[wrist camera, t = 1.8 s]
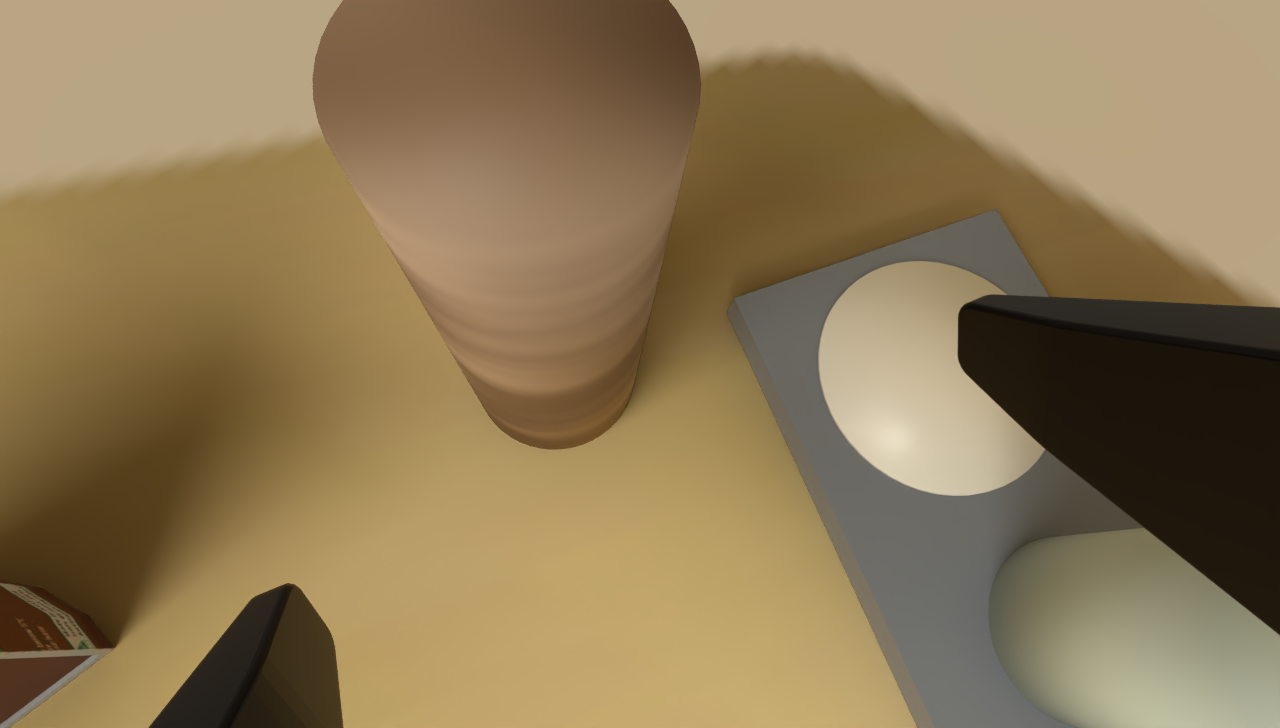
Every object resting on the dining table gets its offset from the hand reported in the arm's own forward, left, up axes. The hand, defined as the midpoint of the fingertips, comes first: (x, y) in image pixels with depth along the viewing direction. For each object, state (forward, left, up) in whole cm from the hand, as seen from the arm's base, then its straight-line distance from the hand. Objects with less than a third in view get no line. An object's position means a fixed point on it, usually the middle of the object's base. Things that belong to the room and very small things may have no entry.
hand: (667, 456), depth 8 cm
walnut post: (+5, 0, -12) cm, 13 cm away
